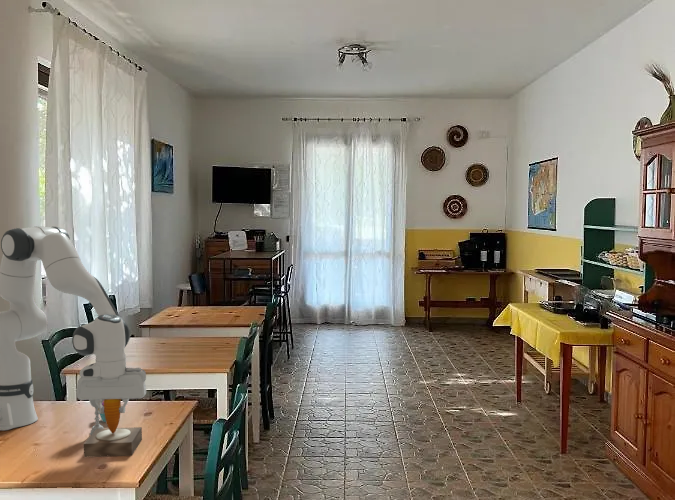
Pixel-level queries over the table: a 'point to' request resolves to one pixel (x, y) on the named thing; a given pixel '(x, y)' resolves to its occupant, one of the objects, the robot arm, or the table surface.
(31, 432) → the table surface
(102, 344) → the robot arm
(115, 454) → the walnut plinth
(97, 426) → the chalice
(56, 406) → the table surface
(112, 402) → the carrot
